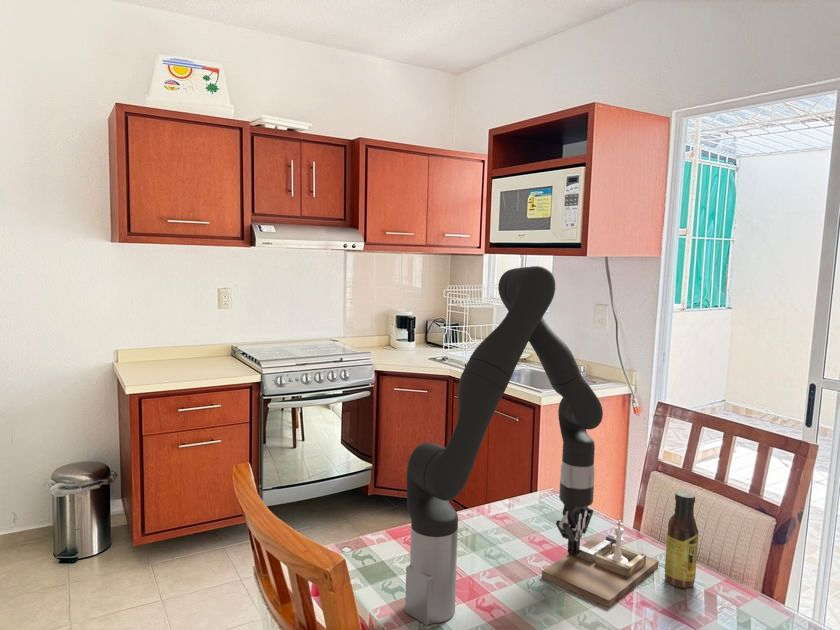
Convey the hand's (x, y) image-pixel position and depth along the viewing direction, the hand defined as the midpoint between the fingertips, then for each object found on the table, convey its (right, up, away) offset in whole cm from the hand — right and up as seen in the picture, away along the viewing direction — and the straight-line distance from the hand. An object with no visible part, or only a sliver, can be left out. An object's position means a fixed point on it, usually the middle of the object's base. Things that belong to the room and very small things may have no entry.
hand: (573, 553), depth 138 cm
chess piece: (+10, -2, -1) cm, 10 cm away
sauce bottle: (+22, -4, -6) cm, 23 cm away
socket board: (+6, -3, -2) cm, 7 cm away
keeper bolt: (+5, -1, +4) cm, 6 cm away
